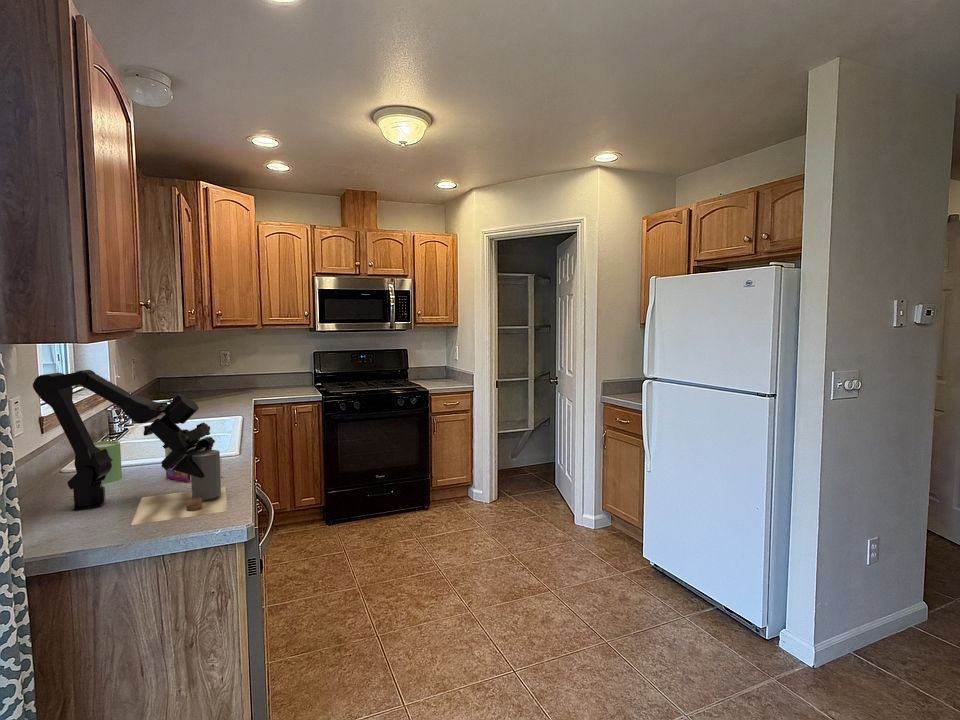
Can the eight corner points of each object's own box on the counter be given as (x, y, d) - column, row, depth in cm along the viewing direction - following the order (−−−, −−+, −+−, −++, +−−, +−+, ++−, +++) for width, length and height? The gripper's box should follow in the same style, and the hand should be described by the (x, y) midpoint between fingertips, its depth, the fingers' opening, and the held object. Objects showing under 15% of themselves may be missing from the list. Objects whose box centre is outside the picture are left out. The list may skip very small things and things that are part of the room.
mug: (109, 474, 182) (108, 439, 181) (128, 477, 178) (126, 442, 177) (68, 484, 171) (66, 447, 170) (87, 488, 166) (85, 450, 166)
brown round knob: (186, 512, 142) (185, 503, 142) (186, 507, 146) (186, 498, 145) (202, 509, 144) (201, 500, 144) (202, 505, 147) (202, 496, 147)
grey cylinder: (191, 501, 148) (190, 457, 147) (192, 493, 155) (191, 451, 154) (221, 497, 151) (219, 454, 151) (220, 490, 158) (219, 448, 157)
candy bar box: (202, 479, 176) (200, 430, 175) (189, 483, 171) (187, 433, 170) (179, 475, 180) (177, 428, 179) (165, 479, 176) (163, 430, 175)
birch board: (130, 529, 133) (130, 525, 133) (142, 500, 154) (141, 497, 154) (227, 514, 143) (227, 510, 143) (225, 489, 164) (225, 486, 164)
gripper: (170, 421, 142) (212, 462, 143) (207, 410, 161) (244, 446, 161) (143, 450, 143) (184, 490, 143) (183, 435, 162) (220, 471, 162)
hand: (210, 473), depth 153 cm, fingers closed on grey cylinder, 7 cm apart
